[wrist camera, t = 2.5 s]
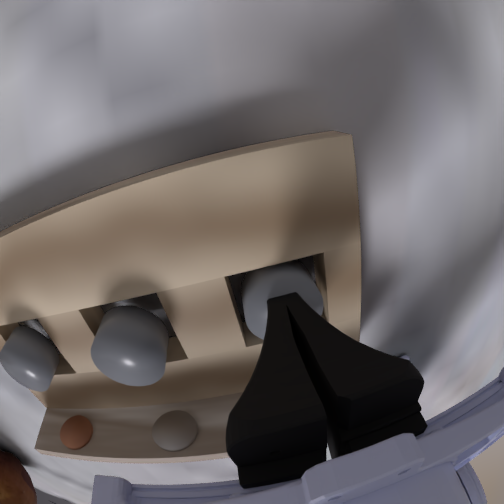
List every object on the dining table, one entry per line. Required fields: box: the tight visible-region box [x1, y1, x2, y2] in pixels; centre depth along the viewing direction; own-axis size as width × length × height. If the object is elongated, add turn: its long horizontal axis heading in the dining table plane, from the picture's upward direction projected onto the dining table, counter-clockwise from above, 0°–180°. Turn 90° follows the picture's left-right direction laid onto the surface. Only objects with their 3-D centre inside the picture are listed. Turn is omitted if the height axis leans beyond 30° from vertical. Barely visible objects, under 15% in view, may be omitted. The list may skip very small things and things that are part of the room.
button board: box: [0, 131, 361, 463], centre depth 13 cm, size 14×23×6 cm, turn 102°
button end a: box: [241, 260, 324, 340], centre depth 14 cm, size 4×4×2 cm
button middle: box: [91, 305, 169, 386], centre depth 13 cm, size 4×4×2 cm
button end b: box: [0, 326, 59, 392], centre depth 13 cm, size 4×4×2 cm
